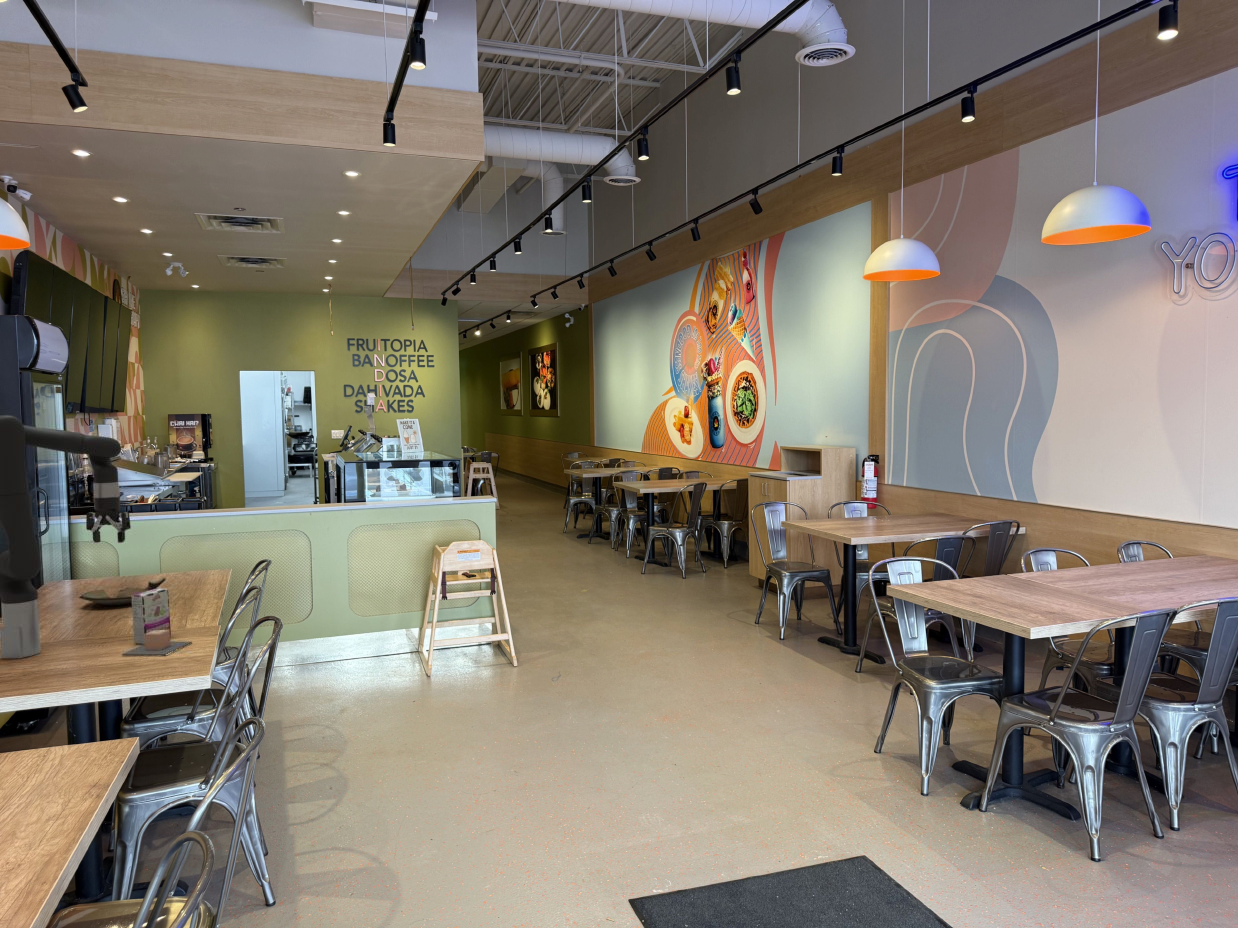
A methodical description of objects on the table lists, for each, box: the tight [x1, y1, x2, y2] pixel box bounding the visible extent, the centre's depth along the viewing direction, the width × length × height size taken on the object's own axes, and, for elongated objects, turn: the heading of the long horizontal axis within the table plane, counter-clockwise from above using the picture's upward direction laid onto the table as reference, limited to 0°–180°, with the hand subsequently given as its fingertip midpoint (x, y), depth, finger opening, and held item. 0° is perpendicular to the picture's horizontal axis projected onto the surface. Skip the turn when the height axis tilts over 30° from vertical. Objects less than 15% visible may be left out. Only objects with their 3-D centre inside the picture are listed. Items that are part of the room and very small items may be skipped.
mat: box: [121, 641, 193, 656], centre depth 253 cm, size 14×14×1 cm
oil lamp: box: [78, 577, 167, 606], centre depth 319 cm, size 22×30×8 cm
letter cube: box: [145, 630, 171, 650], centre depth 253 cm, size 5×5×5 cm
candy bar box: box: [131, 587, 172, 645], centre depth 264 cm, size 11×5×16 cm, turn 168°
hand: (109, 542), depth 272 cm, fingers open, 8 cm apart
